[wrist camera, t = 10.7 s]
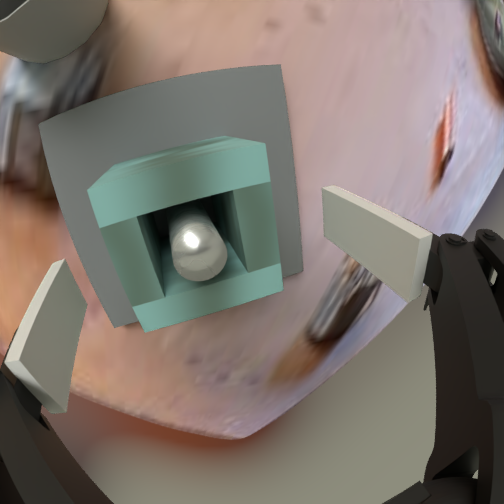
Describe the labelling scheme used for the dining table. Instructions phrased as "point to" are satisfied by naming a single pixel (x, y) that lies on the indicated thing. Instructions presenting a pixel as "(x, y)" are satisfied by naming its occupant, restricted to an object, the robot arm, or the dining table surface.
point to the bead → (159, 248)
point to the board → (164, 137)
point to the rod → (195, 242)
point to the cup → (47, 27)
